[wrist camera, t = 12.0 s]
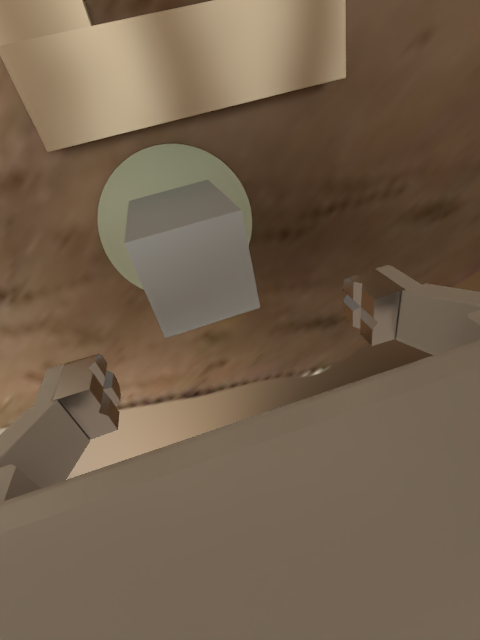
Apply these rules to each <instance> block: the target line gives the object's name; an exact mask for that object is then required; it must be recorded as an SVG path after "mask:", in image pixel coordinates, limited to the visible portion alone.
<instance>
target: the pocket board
mask: <svg viewBox="0 0 480 640" xmlns="http://www.w3.org/2000/svg"><path fill="white" fill-rule="evenodd" d="M0 56H1V59H2V61H3V63H4V65H5V67H6V69H7V71H8V73H9V75H10V77H11V79H12V81H13V83H14V85H15V87H16V89H17V91H18V93H19V95H20V97H21V99H22V101H23V103H24V105H25V107H26V109H27V111H28V113H29V115H30V117H31V119H32V121H33V123H34V125H35V127H36V129H37V131H38V134H39V136H40V138H41V140H42V142H43V144H44V146H45V148H46V150H47V152H50V151H54V150H58V149H62V148H66V147H70V146H74V145H78V144H82V143H86V142H90V141H94V140H98V139H102V138H106V137H110V136H114V135H118V134H122V133H126V132H130V131H134V130H138V129H142V128H146V127H150V126H154V125H158V124H162V123H166V122H170V121H174V120H178V119H182V118H186V117H190V116H194V115H198V114H202V113H206V112H210V111H214V110H218V109H222V108H226V107H230V106H234V105H238V104H242V103H246V102H250V101H254V100H258V99H262V98H266V97H270V96H274V95H278V94H282V93H286V92H290V91H294V90H298V89H302V88H306V87H310V86H314V85H318V84H322V83H326V82H330V81H334V80H338V79H342V78H346V0H213V1H208V2H203V3H198V4H194V5H189V6H184V7H180V8H175V9H170V10H165V11H161V12H156V13H151V14H146V15H142V16H137V17H132V18H127V19H123V20H118V21H113V22H109V23H104V24H99V25H94V26H93V24H92V21H91V18H90V16H89V13H88V10H87V7H86V4H85V1H84V0H0Z"/></svg>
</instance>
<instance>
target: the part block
mask: <svg viewBox="0 0 480 640" xmlns="http://www.w3.org/2000/svg"><path fill="white" fill-rule="evenodd" d="M124 244H125V246H126V249H127V251H128V253H129V256H130V258H131V260H132V263H133V265H134V267H135V270H136V272H137V274H138V277H139V279H140V281H141V284H142V286H143V288H144V291H145V293H146V295H147V298H148V300H149V302H150V304H151V307H152V309H153V311H154V314H155V316H156V318H157V321H158V323H159V325H160V328H161V330H162V332H163V335H164V337H165V338H168V337H171V336H174V335H177V334H180V333H183V332H186V331H189V330H192V329H196V328H199V327H202V326H205V325H208V324H211V323H214V322H217V321H220V320H224V319H227V318H230V317H233V316H236V315H239V314H242V313H245V312H248V311H251V310H255V309H258V308H260V303H259V298H258V293H257V287H256V282H255V277H254V272H253V266H252V261H251V256H250V251H249V246H248V240H247V235H246V230H245V225H244V219H243V214H242V210H241V209H240V208H239V207H238V206H237V205H236V204H235V203H233V202H232V201H231V200H230V199H229V198H228V197H227V196H226V195H224V194H223V193H222V192H221V191H220V190H219V189H218V188H217V187H215V186H214V185H213V184H212V183H211V182H210V181H209V180H204V181H201V182H197V183H193V184H190V185H186V186H182V187H179V188H175V189H171V190H167V191H164V192H160V193H156V194H153V195H149V196H145V197H142V198H138V199H134V200H131V201H129V205H128V214H127V223H126V232H125V241H124Z"/></svg>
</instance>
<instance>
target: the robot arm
mask: <svg viewBox="0 0 480 640" xmlns="http://www.w3.org/2000/svg"><path fill="white" fill-rule="evenodd" d="M343 291H344V292H345V293H346V294H347V296H346V297H345V299H344V301H343V310H344V313H345V316H346V318H347V320H348V322H349V323H350V324H351V325H352V326H353V327H356V328H359V329H360V335H361V336H362V337H363V338H364V339H365V340H366V341H367V342H368V343H369V344H370V345H371V346H373V345H376V344H380V343H383V342H386V341H390V340H393V339H396V340H398V341H400V342H403V343H405V344H408V345H410V346H413V347H415V348H417V349H420V350H422V351H425V352H427V353H430V354H432V355H433V356H430V357H427V358H425V359H421V360H419V361H416V362H413V363H410V364H407V365H404V366H401V367H398V368H395V369H392V370H389V371H386V372H383V373H380V374H377V375H374V376H371V377H368V378H365V379H362V380H359V381H356V382H353V383H351V384H347V385H345V386H342V387H339V388H336V389H333V390H330V391H327V392H324V393H321V394H318V395H316V396H312V397H309V398H306V399H303V400H300V401H297V402H294V403H291V404H288V405H286V406H283V407H280V408H277V409H274V410H271V411H268V412H265V413H262V414H259V415H256V416H253V417H250V418H247V419H245V420H242V421H239V422H236V423H233V424H230V425H227V426H224V427H221V428H218V429H215V430H212V431H209V432H206V433H203V434H201V435H197V436H195V437H192V438H189V439H186V440H183V441H180V442H177V443H174V444H171V445H168V446H165V447H162V448H159V449H156V450H153V451H150V452H148V453H144V454H142V455H139V456H136V457H133V458H130V459H127V460H124V461H121V462H118V463H115V464H112V465H109V466H106V467H103V468H100V469H98V470H94V471H92V472H88V473H85V474H82V475H80V476H77V477H74V478H71V479H68V480H66V479H67V477H68V476H69V474H70V472H71V471H72V469H73V468H74V466H75V464H76V463H77V461H78V460H79V458H80V456H81V454H82V453H83V452H84V450H85V448H86V447H87V445H88V444H89V442H90V439H93V438H96V437H99V436H101V435H104V434H107V433H110V432H113V431H115V430H118V421H119V411H118V410H117V408H116V406H117V405H118V404H119V402H120V397H121V393H120V387H119V384H118V381H117V379H116V377H115V375H114V374H113V373H112V372H109V371H107V370H106V368H107V362H106V361H105V359H104V358H103V356H102V355H100V354H96V355H93V356H89V357H86V358H82V359H79V360H75V361H72V362H68V363H66V364H61V365H58V366H55V367H52V368H50V369H48V370H47V371H46V374H45V376H44V379H43V382H42V384H41V387H40V389H39V392H38V395H37V397H36V400H35V402H34V405H33V407H32V408H30V409H27V410H26V411H25V412H24V413H23V414H22V415H21V416H20V417H19V418H17V419H16V420H15V421H14V422H13V423H12V424H11V425H10V426H9V427H8V428H7V429H6V430H5V431H4V432H3V433H2V434H1V435H0V640H480V292H476V291H469V290H464V289H457V288H451V287H445V286H439V285H433V284H427V283H426V284H423V285H421V284H420V283H418V282H417V281H415V280H413V279H412V278H410V277H409V276H407V275H405V274H404V273H402V272H401V271H399V270H397V269H396V268H394V267H393V266H391V265H384V266H381V267H378V268H376V269H373V270H370V271H367V272H364V273H361V274H358V275H355V276H352V277H349V278H346V279H344V282H343Z"/></svg>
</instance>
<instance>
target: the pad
mask: <svg viewBox="0 0 480 640" xmlns="http://www.w3.org/2000/svg"><path fill="white" fill-rule="evenodd" d="M204 180H209V181H210V182H211V183H212V184H213V185H214V186H215V187H217V188H218V189H219V190H220V191H221V192H222V193H223V194H224V195H226V196H227V197H228V198H229V199H230V200H231V201H232V202H233V203H235V204H236V205H237V206H238V207H239V208H240V209H241V210H242V214H243V219H244V225H245V230H246V235H247V240H248V246H249V242H250V239H251V232H252V214H251V208H250V203H249V200H248V197H247V194H246V192H245V190H244V188H243V186H242V184H241V182H240V181H239V179H238V178H237V177H236V175H235V174H234V173H233V171H232V170H231V169H230V168H229V167H228V166H227V165H226V164H224V163H223V162H222V161H221V160H219V159H218V158H217V157H215V156H213V155H212V154H210V153H208V152H206V151H204V150H201V149H199V148H197V147H193V146H189V145H185V144H177V143H168V144H159V145H153V146H150V147H147V148H144V149H142V150H140V151H138V152H136V153H134V154H132V155H131V156H129V157H128V158H127V159H125V160H124V161H123V162H122V163H121V164H120V165H119V166H118V167H117V168H116V169H115V170H114V172H113V173H112V174H111V176H110V177H109V179H108V181H107V183H106V185H105V187H104V189H103V191H102V194H101V197H100V201H99V206H98V219H97V222H98V231H99V236H100V240H101V243H102V246H103V248H104V251H105V253H106V255H107V256H108V258H109V260H110V261H111V263H112V264H113V265H114V267H115V268H116V269H117V270H118V271H119V273H120V274H121V275H122V276H123V277H125V278H126V279H127V280H128V281H129V282H131V283H132V284H134V285H136V286H137V287H139V288H141V289H143V290H144V288H143V286H142V284H141V281H140V279H139V277H138V274H137V272H136V270H135V267H134V265H133V263H132V260H131V258H130V256H129V253H128V251H127V249H126V246H125V244H124V241H125V232H126V223H127V214H128V205H129V201H131V200H134V199H138V198H142V197H145V196H149V195H153V194H156V193H160V192H164V191H167V190H171V189H175V188H179V187H182V186H186V185H190V184H193V183H197V182H201V181H204Z"/></svg>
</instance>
